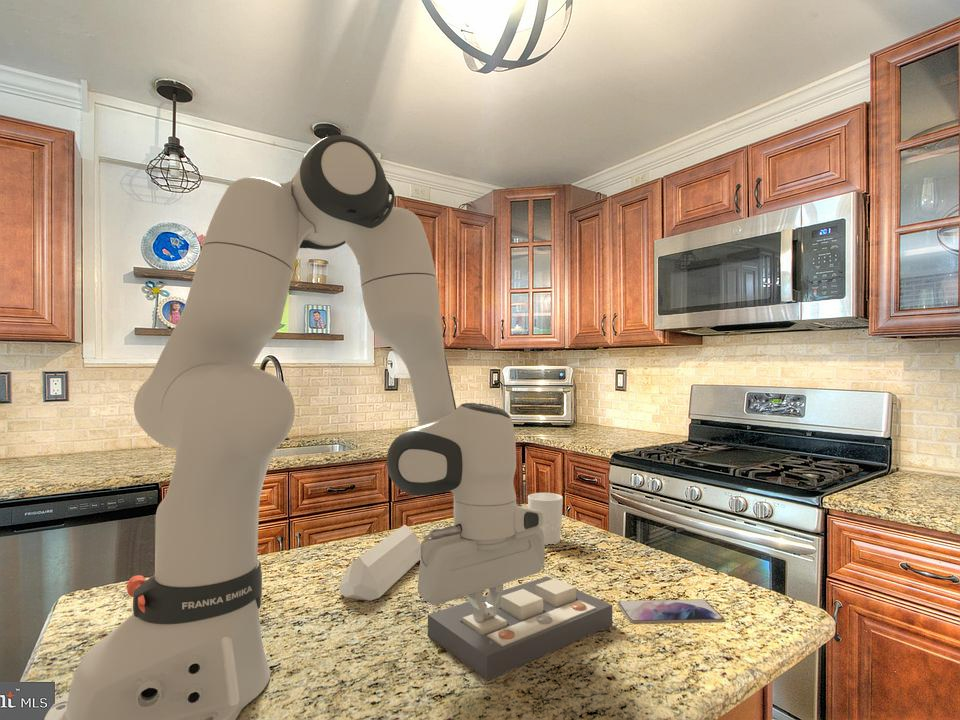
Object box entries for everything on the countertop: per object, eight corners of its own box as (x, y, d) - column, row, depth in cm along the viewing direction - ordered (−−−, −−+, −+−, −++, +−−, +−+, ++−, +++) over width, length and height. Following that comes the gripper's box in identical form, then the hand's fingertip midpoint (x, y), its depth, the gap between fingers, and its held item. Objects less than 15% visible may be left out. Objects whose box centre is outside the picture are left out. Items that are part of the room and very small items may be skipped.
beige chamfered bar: (384, 584, 86) (434, 539, 109) (349, 558, 87) (406, 519, 110) (363, 621, 86) (417, 568, 110) (329, 595, 88) (389, 548, 111)
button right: (555, 614, 79) (555, 594, 79) (535, 604, 83) (535, 584, 83) (575, 606, 82) (575, 587, 82) (555, 596, 85) (555, 578, 85)
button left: (481, 652, 71) (481, 629, 71) (462, 639, 74) (462, 617, 74) (506, 642, 73) (506, 620, 73) (487, 629, 77) (487, 609, 77)
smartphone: (726, 619, 81) (630, 621, 80) (726, 624, 81) (630, 626, 80) (704, 598, 88) (616, 600, 87) (704, 603, 88) (616, 605, 87)
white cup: (553, 548, 114) (553, 502, 114) (521, 542, 118) (521, 497, 119) (568, 539, 121) (568, 495, 121) (537, 533, 125) (537, 491, 125)
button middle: (520, 627, 75) (520, 606, 75) (501, 616, 78) (501, 596, 79) (543, 619, 78) (543, 598, 78) (523, 608, 81) (523, 588, 81)
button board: (487, 680, 65) (487, 652, 65) (427, 635, 76) (427, 611, 76) (612, 625, 80) (612, 602, 80) (547, 593, 91) (547, 573, 91)
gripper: (434, 538, 66) (434, 651, 65) (551, 512, 78) (551, 606, 78) (409, 526, 71) (408, 631, 70) (522, 503, 83) (522, 592, 83)
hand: (484, 618), depth 74 cm, fingers closed, pressing on button left
